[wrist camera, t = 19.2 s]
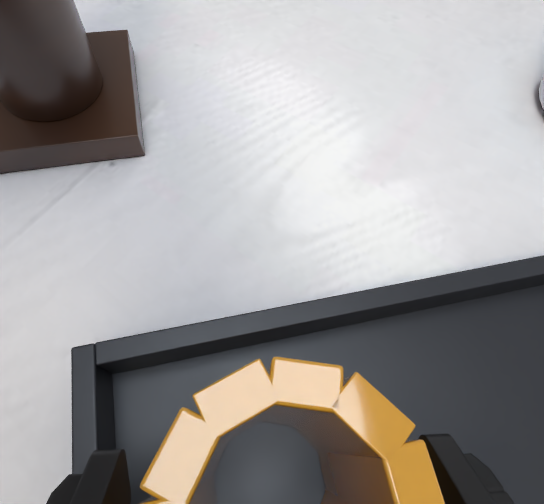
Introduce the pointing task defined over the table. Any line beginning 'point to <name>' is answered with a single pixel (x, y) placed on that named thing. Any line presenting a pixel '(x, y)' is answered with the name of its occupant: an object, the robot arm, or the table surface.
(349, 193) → the table surface
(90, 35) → the stand
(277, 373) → the golden brown grooved sleeve
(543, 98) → the pill bottle
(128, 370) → the tray
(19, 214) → the table surface
